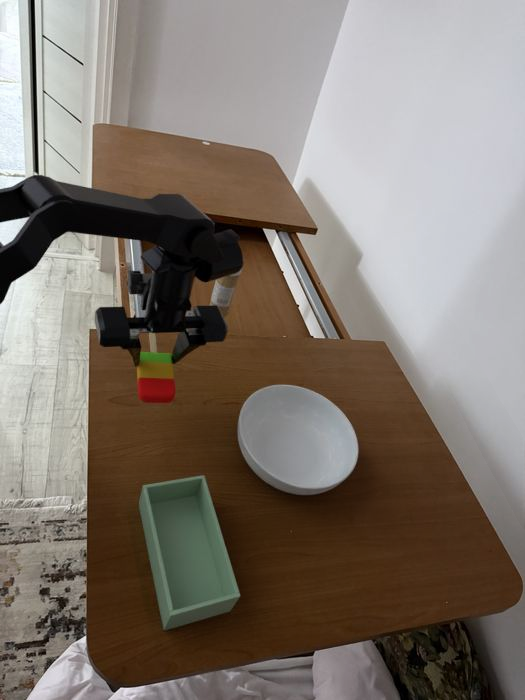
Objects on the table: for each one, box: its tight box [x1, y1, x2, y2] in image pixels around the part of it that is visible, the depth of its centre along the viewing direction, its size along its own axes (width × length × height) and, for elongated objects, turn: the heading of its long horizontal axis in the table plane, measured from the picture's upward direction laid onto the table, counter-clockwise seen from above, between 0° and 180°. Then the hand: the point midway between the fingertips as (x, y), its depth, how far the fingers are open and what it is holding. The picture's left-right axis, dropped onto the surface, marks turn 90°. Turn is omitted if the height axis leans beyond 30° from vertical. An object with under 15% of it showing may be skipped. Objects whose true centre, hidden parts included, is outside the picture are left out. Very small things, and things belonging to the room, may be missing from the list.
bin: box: [138, 474, 241, 632], centre depth 69 cm, size 18×9×6 cm, turn 20°
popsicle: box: [136, 333, 177, 404], centre depth 80 cm, size 6×15×2 cm, turn 12°
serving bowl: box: [237, 384, 359, 496], centre depth 86 cm, size 21×21×7 cm
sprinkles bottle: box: [208, 268, 243, 318], centre depth 105 cm, size 5×5×13 cm
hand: (154, 363), depth 80 cm, fingers closed on popsicle, 6 cm apart
